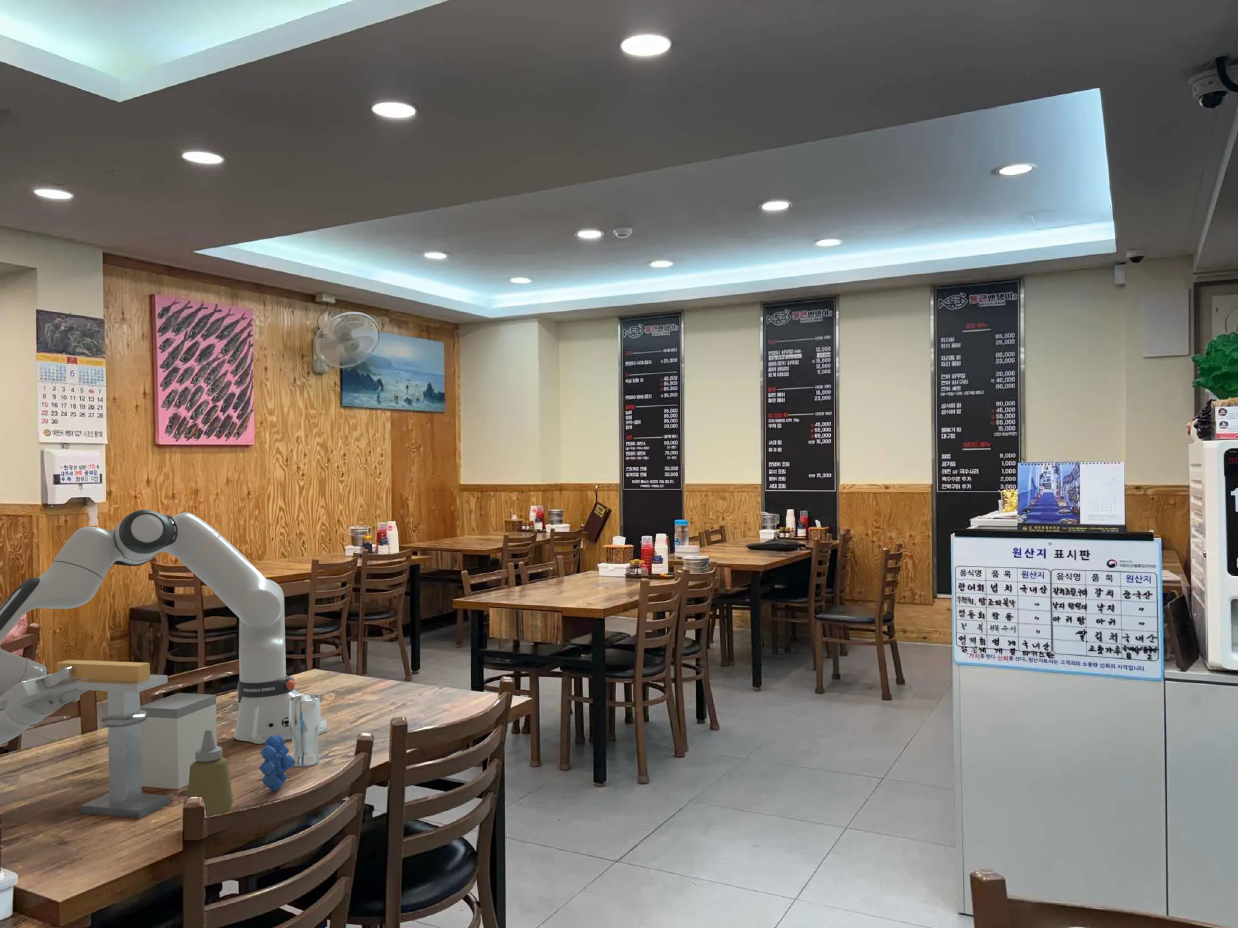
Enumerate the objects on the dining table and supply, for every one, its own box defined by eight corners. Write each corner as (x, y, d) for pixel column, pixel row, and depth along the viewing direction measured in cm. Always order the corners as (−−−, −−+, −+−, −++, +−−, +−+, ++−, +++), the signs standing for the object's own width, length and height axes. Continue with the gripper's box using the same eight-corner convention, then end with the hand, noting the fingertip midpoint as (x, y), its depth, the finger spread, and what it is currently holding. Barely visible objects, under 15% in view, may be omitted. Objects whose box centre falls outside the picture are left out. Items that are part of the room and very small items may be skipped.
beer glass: (311, 768, 199) (309, 701, 199) (283, 767, 200) (282, 700, 200) (327, 758, 206) (326, 694, 206) (300, 757, 207) (299, 693, 207)
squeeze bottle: (196, 817, 172) (194, 725, 172) (239, 815, 173) (237, 723, 173) (179, 834, 164) (177, 737, 164) (224, 832, 164) (222, 735, 165)
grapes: (286, 800, 180) (285, 741, 180) (252, 801, 180) (251, 742, 180) (305, 780, 192) (303, 724, 192) (273, 781, 191) (272, 725, 191)
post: (81, 812, 176) (78, 681, 176) (113, 797, 183) (110, 672, 183) (139, 818, 172) (137, 684, 172) (170, 802, 180) (167, 675, 180)
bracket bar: (56, 677, 180) (56, 662, 180) (69, 674, 183) (68, 659, 183) (138, 681, 175) (138, 666, 175) (149, 677, 178) (149, 662, 178)
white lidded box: (139, 785, 190) (137, 706, 190) (180, 767, 202) (178, 692, 202) (178, 789, 188) (177, 709, 188) (217, 770, 199) (216, 694, 199)
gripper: (-19, 697, 174) (29, 664, 171) (69, 673, 193) (114, 643, 191) (-6, 726, 173) (43, 693, 170) (82, 699, 193) (127, 669, 190)
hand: (81, 667), depth 180 cm, fingers open, 4 cm apart
